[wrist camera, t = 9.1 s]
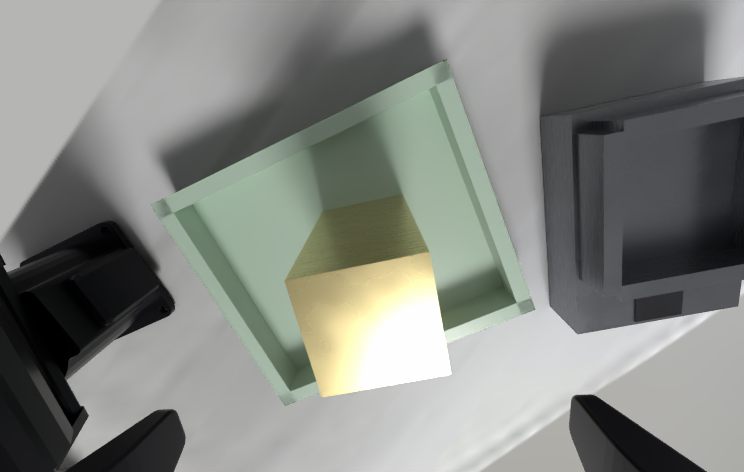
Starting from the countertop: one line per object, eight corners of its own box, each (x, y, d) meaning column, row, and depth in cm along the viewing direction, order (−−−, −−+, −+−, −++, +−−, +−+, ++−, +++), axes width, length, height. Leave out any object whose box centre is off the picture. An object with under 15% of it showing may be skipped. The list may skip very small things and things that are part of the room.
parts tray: (293, 377, 23) (285, 405, 21) (177, 195, 19) (150, 205, 17) (516, 288, 21) (535, 309, 19) (436, 67, 18) (446, 59, 15)
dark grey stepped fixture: (550, 306, 22) (600, 357, 17) (539, 116, 18) (599, 113, 14) (688, 281, 21) (780, 327, 16) (704, 81, 18) (827, 66, 13)
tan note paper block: (341, 283, 21) (321, 397, 12) (322, 211, 19) (283, 281, 11) (417, 268, 20) (451, 374, 12) (402, 194, 19) (429, 252, 10)
